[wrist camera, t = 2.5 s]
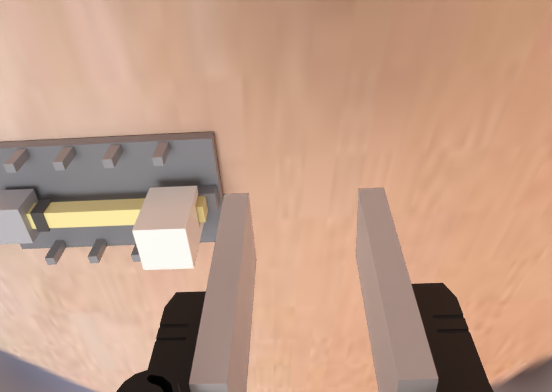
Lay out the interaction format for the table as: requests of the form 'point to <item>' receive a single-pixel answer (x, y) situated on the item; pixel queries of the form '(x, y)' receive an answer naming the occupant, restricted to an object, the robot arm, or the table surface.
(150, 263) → the sleeve
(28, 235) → the cable comb
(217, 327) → the robot arm
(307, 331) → the table surface
